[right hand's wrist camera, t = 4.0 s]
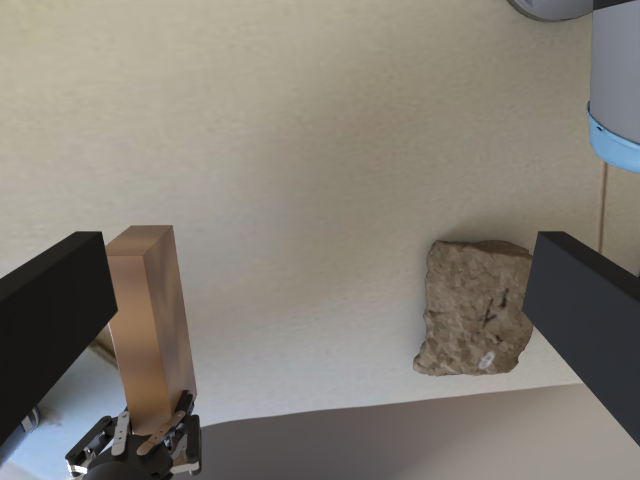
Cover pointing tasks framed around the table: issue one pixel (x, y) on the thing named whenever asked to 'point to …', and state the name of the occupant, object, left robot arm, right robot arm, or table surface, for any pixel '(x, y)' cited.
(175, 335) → the bar
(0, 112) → the table surface
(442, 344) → the stone
